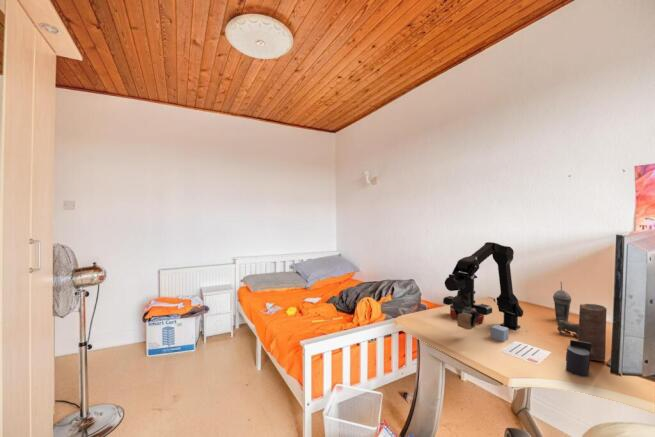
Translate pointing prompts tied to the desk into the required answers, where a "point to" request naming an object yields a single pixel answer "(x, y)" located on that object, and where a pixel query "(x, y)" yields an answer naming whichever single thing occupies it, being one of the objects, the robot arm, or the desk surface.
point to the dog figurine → (567, 327)
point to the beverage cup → (562, 304)
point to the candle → (593, 329)
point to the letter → (526, 352)
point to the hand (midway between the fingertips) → (466, 324)
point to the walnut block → (465, 321)
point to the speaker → (578, 358)
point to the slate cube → (499, 333)
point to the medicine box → (468, 311)
